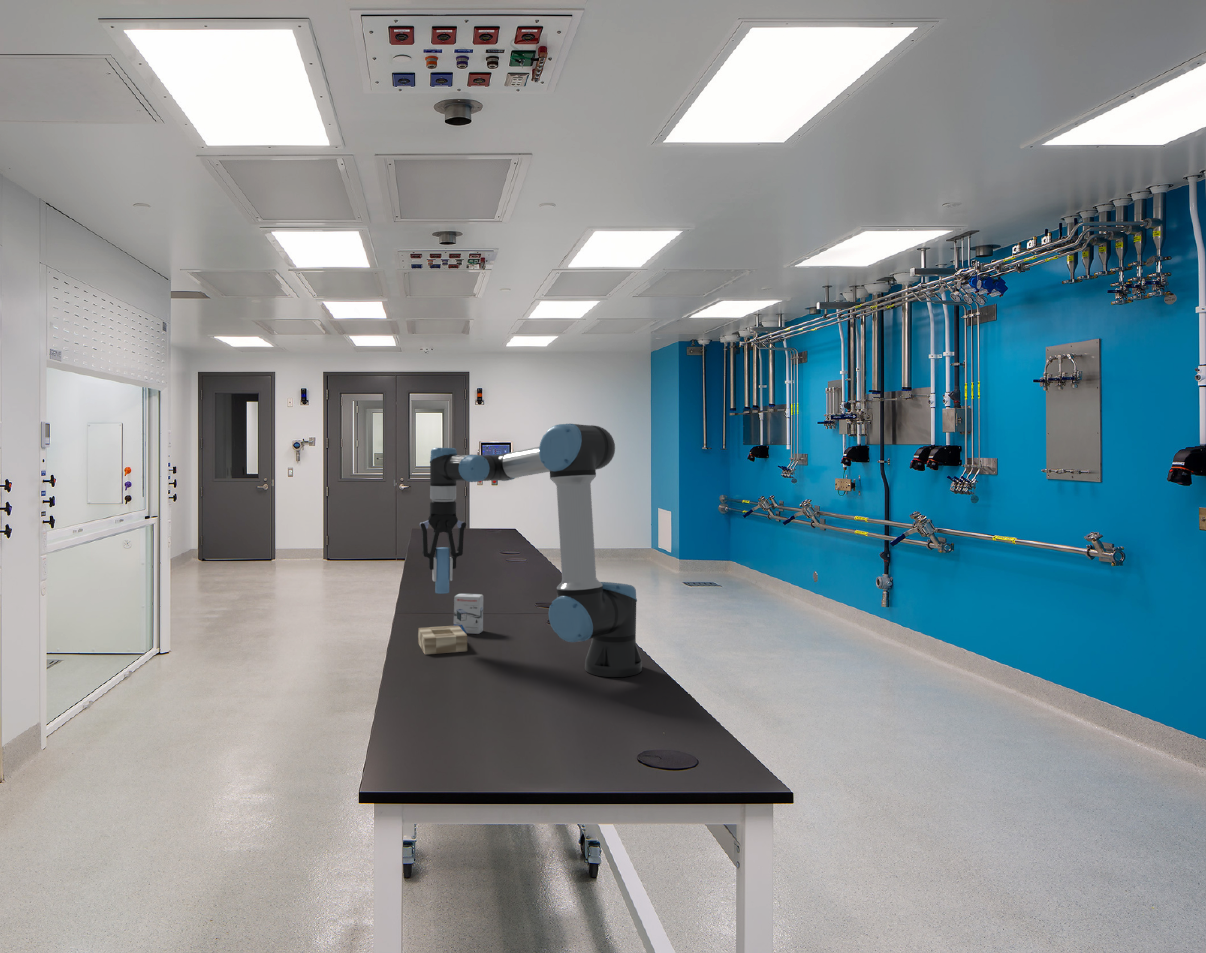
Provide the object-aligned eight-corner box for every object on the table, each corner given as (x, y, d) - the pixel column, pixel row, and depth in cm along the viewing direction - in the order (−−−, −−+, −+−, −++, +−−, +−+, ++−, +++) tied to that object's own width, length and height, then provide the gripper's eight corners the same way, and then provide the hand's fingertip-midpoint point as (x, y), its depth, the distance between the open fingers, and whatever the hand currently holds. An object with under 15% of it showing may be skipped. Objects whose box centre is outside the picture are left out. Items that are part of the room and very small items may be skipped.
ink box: (452, 633, 245) (453, 596, 244) (457, 629, 250) (457, 593, 249) (479, 634, 244) (479, 597, 243) (483, 630, 249) (483, 594, 248)
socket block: (467, 651, 222) (467, 635, 222) (424, 654, 218) (424, 638, 218) (458, 640, 236) (458, 625, 235) (418, 643, 231) (418, 628, 231)
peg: (450, 593, 225) (450, 548, 225) (436, 594, 224) (436, 549, 223) (447, 591, 229) (448, 547, 229) (434, 591, 227) (434, 547, 227)
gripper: (469, 499, 232) (468, 577, 233) (411, 499, 226) (411, 579, 227) (474, 501, 225) (473, 581, 226) (415, 501, 219) (414, 583, 220)
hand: (442, 580), depth 226 cm, fingers closed on peg, 4 cm apart
